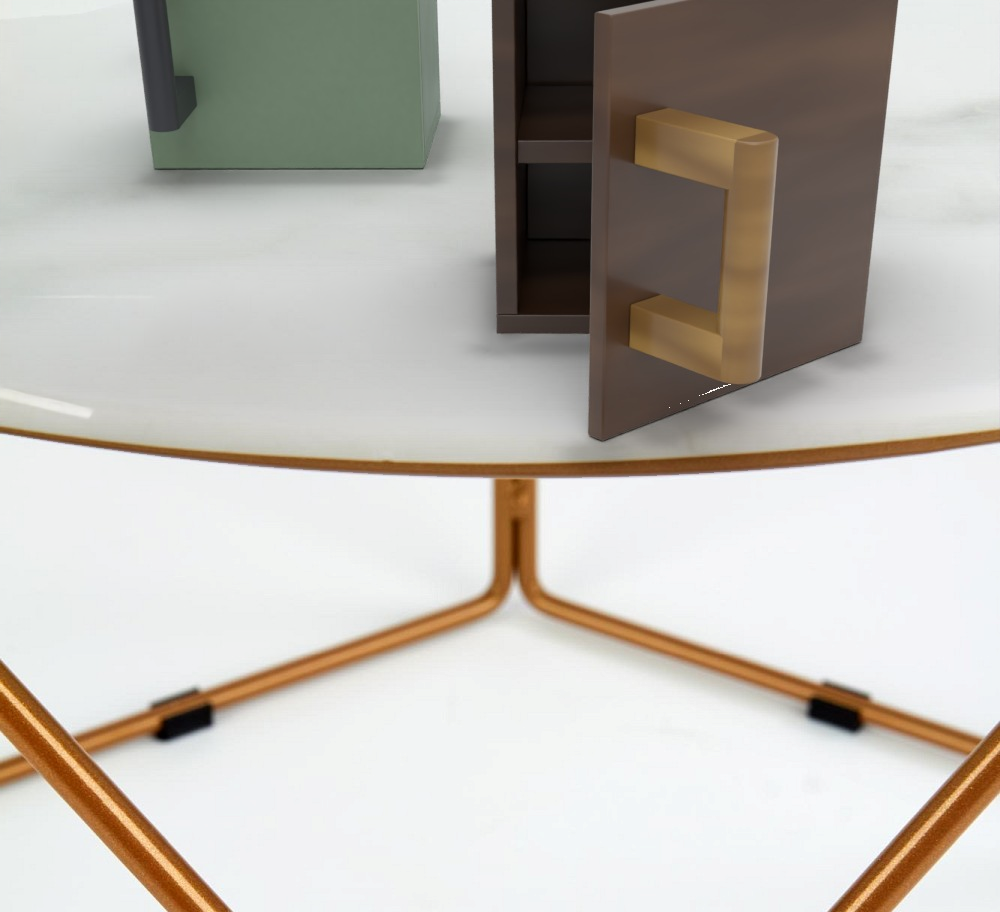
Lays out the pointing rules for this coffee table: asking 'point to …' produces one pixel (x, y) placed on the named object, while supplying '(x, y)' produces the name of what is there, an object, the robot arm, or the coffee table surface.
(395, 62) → the far door
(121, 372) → the coffee table surface
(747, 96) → the near door
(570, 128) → the near cabinet
